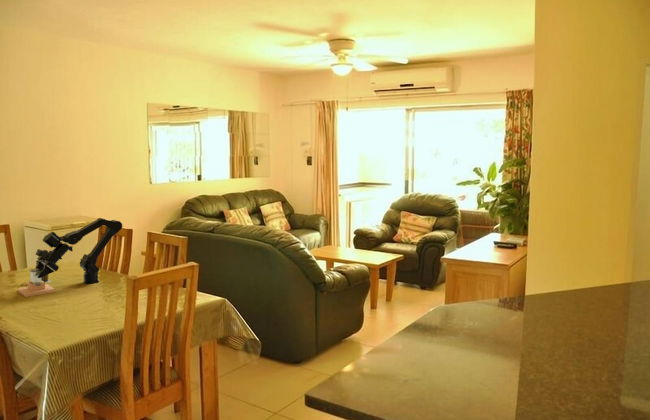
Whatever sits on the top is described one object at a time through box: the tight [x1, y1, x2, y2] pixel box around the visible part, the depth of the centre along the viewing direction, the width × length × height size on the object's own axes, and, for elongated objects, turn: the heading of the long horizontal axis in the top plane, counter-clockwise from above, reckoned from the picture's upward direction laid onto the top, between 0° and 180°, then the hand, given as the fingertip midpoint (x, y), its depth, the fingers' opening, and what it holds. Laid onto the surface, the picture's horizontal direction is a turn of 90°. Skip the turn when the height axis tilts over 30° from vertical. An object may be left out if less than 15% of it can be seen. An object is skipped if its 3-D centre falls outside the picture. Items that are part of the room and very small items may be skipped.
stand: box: [17, 280, 56, 298], centre depth 263 cm, size 14×14×5 cm
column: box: [29, 268, 42, 284], centre depth 263 cm, size 5×4×10 cm
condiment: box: [35, 259, 52, 284], centre depth 282 cm, size 7×8×12 cm
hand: (35, 276), depth 262 cm, fingers open, 9 cm apart
